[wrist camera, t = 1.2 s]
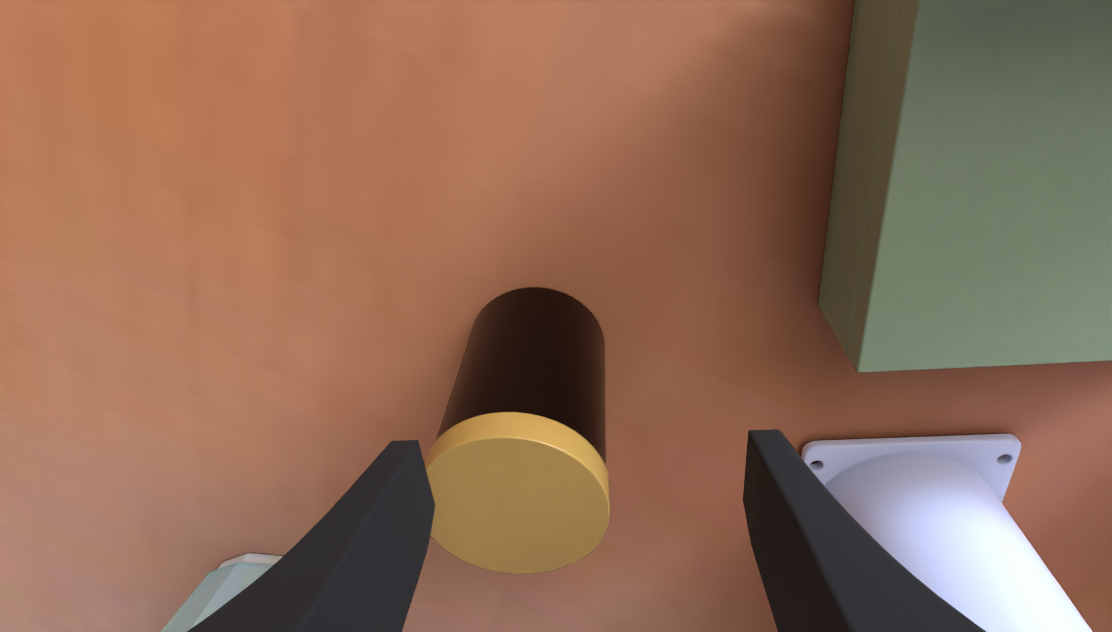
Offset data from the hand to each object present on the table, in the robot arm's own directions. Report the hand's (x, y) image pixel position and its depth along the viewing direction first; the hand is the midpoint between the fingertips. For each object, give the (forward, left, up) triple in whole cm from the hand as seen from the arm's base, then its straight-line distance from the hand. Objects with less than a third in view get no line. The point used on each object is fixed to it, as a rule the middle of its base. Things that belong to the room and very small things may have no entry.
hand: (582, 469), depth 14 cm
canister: (-3, +2, -10) cm, 10 cm away
